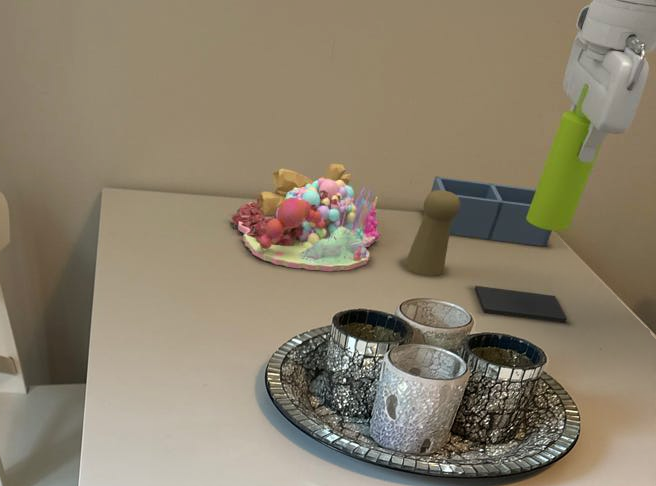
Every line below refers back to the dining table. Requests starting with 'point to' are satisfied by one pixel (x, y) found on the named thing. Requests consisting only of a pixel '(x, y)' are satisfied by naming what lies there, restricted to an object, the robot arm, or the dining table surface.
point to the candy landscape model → (310, 222)
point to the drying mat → (520, 304)
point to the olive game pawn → (433, 234)
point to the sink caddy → (493, 211)
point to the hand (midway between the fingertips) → (576, 151)
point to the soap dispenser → (562, 173)
